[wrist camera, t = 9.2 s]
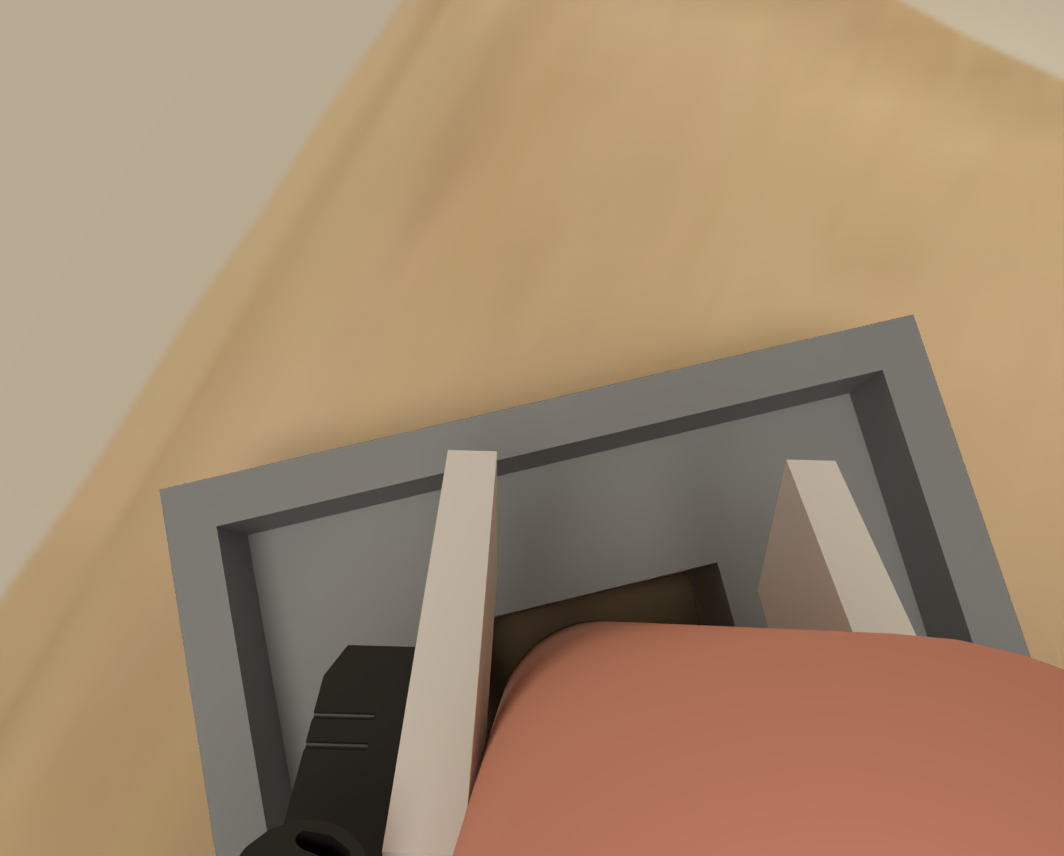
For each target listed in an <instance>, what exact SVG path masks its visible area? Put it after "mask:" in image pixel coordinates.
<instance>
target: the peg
mask: <svg viewBox="0 0 1064 856" xmlns="http://www.w3.org/2000/svg"><path fill="white" fill-rule="evenodd" d="M453 856H1064V670H1063V669H1060V668H1057V667H1055V666H1052V665H1049V664H1046V663H1044V662H1041V661H1038V660H1035V659H1033V658H1030V657H1027V656H1025V655H1022V654H1018V653H1013V652H1009V651H1005V650H1000V649H996V648H992V647H987V646H983V645H978V644H974V643H970V642H965V641H961V640H955V639H945V638H934V637H924V636H913V635H903V634H891V633H868V632H845V631H821V630H798V629H775V628H752V627H729V626H706V625H683V624H660V623H637V622H614V621H590V622H584V623H578V624H574V625H571V626H568V627H565V628H562V629H560V630H558V631H556V632H554V633H552V634H550V635H548V636H547V637H545V638H544V639H542V640H541V641H539V642H538V643H537V644H536V645H535V646H534V647H532V648H531V649H530V650H529V651H528V652H527V653H526V654H525V656H524V657H523V658H522V659H521V660H520V662H519V663H518V664H517V666H516V667H515V669H514V670H513V672H512V674H511V676H510V678H509V680H508V682H507V683H506V686H505V689H504V692H503V694H502V697H501V700H500V704H499V707H498V710H497V713H496V717H495V720H494V723H493V726H492V730H491V733H490V736H489V739H488V743H487V746H486V749H485V752H484V756H483V759H482V762H481V765H480V769H479V772H478V775H477V778H476V781H475V785H474V788H473V791H472V794H471V798H470V801H469V804H468V807H467V811H466V814H465V817H464V820H463V824H462V827H461V830H460V833H459V837H458V840H457V843H456V846H455V849H454V853H453Z"/></svg>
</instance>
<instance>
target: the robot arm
mask: <svg viewBox="0 0 1064 856" xmlns="http://www.w3.org/2000/svg"><path fill="white" fill-rule="evenodd" d="M496 585H497V451H468V450H448V453H447V459H446V465H445V471H444V477H443V483H442V489H441V495H440V501H439V507H438V513H437V520H436V526H435V532H434V538H433V544H432V550H431V556H430V562H429V568H428V574H427V580H426V587H425V593H424V599H423V605H422V611H421V617H420V623H419V629H418V635H417V641H416V647H404V646H368V645H347V647H346V648H345V649H344V650H343V652H342V653H341V654H340V655H339V657H338V658H337V659H336V661H335V662H334V663H333V664H332V666H331V667H330V668H329V669H328V671H327V672H326V673H325V674H324V676H323V679H322V683H321V687H320V691H319V694H318V698H317V702H316V705H315V709H314V717H313V719H312V720H311V724H310V728H309V732H308V735H307V739H306V747H305V749H304V750H303V754H302V758H301V761H300V765H299V769H298V772H297V776H296V780H295V784H294V787H293V791H292V795H291V798H290V802H289V806H288V810H287V813H286V817H285V821H284V824H283V825H281V826H278V827H275V828H272V829H269V830H268V831H267V832H265V833H264V834H263V835H261V836H260V837H259V838H257V839H256V840H255V841H253V842H252V843H251V844H249V845H248V846H247V847H245V849H244V850H243V851H242V853H241V854H240V856H453V853H454V849H455V846H456V843H457V840H458V837H459V833H460V830H461V827H462V824H463V820H464V817H465V814H466V811H467V807H468V804H469V801H470V798H471V794H472V791H473V788H474V785H475V781H476V778H477V775H478V772H479V769H480V765H481V762H482V759H483V756H484V752H485V744H486V730H487V715H488V701H489V686H490V672H491V657H492V643H493V628H494V614H495V599H496ZM758 593H759V596H760V600H761V604H762V607H763V611H764V614H765V618H766V621H767V625H768V628H775V629H798V630H821V631H845V632H868V633H891V634H903V635H913V636H916V634H915V632H914V629H913V627H912V625H911V623H910V621H909V619H908V616H907V614H906V612H905V610H904V608H903V606H902V604H901V601H900V599H899V597H898V595H897V593H896V591H895V588H894V586H893V584H892V582H891V580H890V578H889V575H888V573H887V571H886V569H885V567H884V565H883V563H882V560H881V558H880V556H879V554H878V552H877V550H876V547H875V545H874V543H873V541H872V539H871V537H870V534H869V532H868V530H867V528H866V526H865V524H864V522H863V519H862V517H861V515H860V513H859V511H858V509H857V506H856V504H855V502H854V500H853V498H852V496H851V493H850V491H849V489H848V487H847V485H846V483H845V481H844V478H843V476H842V474H841V472H840V470H839V468H838V465H837V463H836V461H824V460H789V459H786V463H785V468H784V472H783V477H782V481H781V486H780V490H779V495H778V499H777V504H776V508H775V513H774V518H773V522H772V527H771V531H770V536H769V540H768V545H767V549H766V554H765V559H764V563H763V568H762V572H761V577H760V581H759V586H758Z"/></svg>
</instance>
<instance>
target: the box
mask: <svg viewBox="0 0 1064 856" xmlns="http://www.w3.org/2000/svg"><path fill="white" fill-rule="evenodd" d="M448 450H468V451H497V585H496V599H495V614H494V618H497V617H501V616H505V615H509V614H513V613H517V612H522V611H526V610H530V609H534V608H538V607H542V606H546V605H550V604H554V603H559V602H563V601H567V600H571V599H575V598H579V597H583V596H587V595H591V594H596V593H600V592H604V591H608V590H612V589H616V588H620V587H624V586H628V585H632V584H637V583H641V582H645V581H649V580H653V579H657V578H661V577H665V576H669V575H674V574H678V573H682V572H686V571H687V573H688V577H689V581H690V584H691V588H692V592H693V595H694V599H695V603H696V606H697V610H698V614H699V618H700V621H701V625H706V626H729V627H752V628H768V625H767V621H766V618H765V614H764V611H763V607H762V604H761V600H760V596H759V593H758V586H759V581H760V577H761V572H762V568H763V563H764V559H765V554H766V549H767V545H768V540H769V536H770V531H771V527H772V522H773V518H774V513H775V508H776V504H777V499H778V495H779V490H780V486H781V481H782V477H783V472H784V468H785V463H786V459H789V460H824V461H836V463H837V465H838V468H839V470H840V472H841V474H842V476H843V478H844V481H845V483H846V485H847V487H848V489H849V491H850V493H851V496H852V498H853V500H854V502H855V504H856V506H857V509H858V511H859V513H860V515H861V517H862V519H863V522H864V524H865V526H866V528H867V530H868V532H869V534H870V537H871V539H872V541H873V543H874V545H875V547H876V550H877V552H878V554H879V556H880V558H881V560H882V563H883V565H884V567H885V569H886V571H887V573H888V575H889V578H890V580H891V582H892V584H893V586H894V588H895V591H896V593H897V595H898V597H899V599H900V601H901V604H902V606H903V608H904V610H905V612H906V614H907V616H908V619H909V621H910V623H911V625H912V627H913V629H914V632H915V634H916V636H924V637H934V638H945V639H955V640H961V641H965V642H970V643H974V644H978V645H983V646H987V647H992V648H996V649H1000V650H1005V651H1009V652H1013V653H1018V654H1022V655H1025V656H1027V657H1030V654H1029V651H1028V648H1027V645H1026V642H1025V640H1024V637H1023V634H1022V631H1021V628H1020V625H1019V622H1018V619H1017V616H1016V613H1015V610H1014V607H1013V605H1012V602H1011V599H1010V596H1009V593H1008V590H1007V587H1006V584H1005V581H1004V578H1003V575H1002V572H1001V570H1000V567H999V564H998V561H997V558H996V555H995V552H994V549H993V546H992V543H991V540H990V537H989V535H988V532H987V529H986V526H985V523H984V520H983V517H982V514H981V511H980V508H979V505H978V502H977V500H976V497H975V494H974V491H973V488H972V485H971V482H970V479H969V476H968V473H967V470H966V467H965V464H964V462H963V459H962V456H961V453H960V450H959V447H958V444H957V441H956V438H955V435H954V432H953V429H952V427H951V424H950V421H949V418H948V415H947V412H946V409H945V406H944V403H943V400H942V397H941V394H940V392H939V389H938V386H937V383H936V380H935V377H934V374H933V371H932V368H931V365H930V362H929V359H928V357H927V354H926V351H925V348H924V345H923V342H922V339H921V336H920V333H919V330H918V327H917V324H916V322H915V319H914V316H913V315H909V316H905V317H901V318H896V319H892V320H888V321H883V322H879V323H875V324H870V325H866V326H862V327H858V328H853V329H849V330H845V331H840V332H836V333H832V334H827V335H823V336H819V337H815V338H810V339H806V340H802V341H797V342H793V343H789V344H784V345H780V346H776V347H771V348H767V349H763V350H759V351H754V352H750V353H746V354H741V355H737V356H733V357H728V358H724V359H720V360H716V361H711V362H707V363H703V364H698V365H694V366H690V367H685V368H681V369H677V370H673V371H668V372H664V373H660V374H655V375H651V376H647V377H642V378H638V379H634V380H629V381H625V382H621V383H617V384H612V385H608V386H604V387H599V388H595V389H591V390H586V391H582V392H578V393H574V394H569V395H565V396H561V397H556V398H552V399H548V400H543V401H539V402H535V403H531V404H526V405H522V406H518V407H513V408H509V409H505V410H500V411H496V412H492V413H487V414H483V415H479V416H475V417H470V418H466V419H462V420H457V421H453V422H449V423H444V424H440V425H436V426H432V427H427V428H423V429H419V430H414V431H410V432H406V433H401V434H397V435H393V436H389V437H384V438H380V439H376V440H371V441H367V442H363V443H358V444H354V445H350V446H345V447H341V448H337V449H333V450H328V451H324V452H320V453H315V454H311V455H307V456H302V457H298V458H294V459H290V460H285V461H281V462H277V463H272V464H268V465H264V466H259V467H255V468H251V469H247V470H242V471H238V472H234V473H229V474H225V475H221V476H216V477H212V478H208V479H203V480H199V481H195V482H191V483H186V484H182V485H178V486H173V487H169V488H165V489H160V496H161V502H162V509H163V515H164V522H165V528H166V535H167V541H168V548H169V554H170V561H171V567H172V574H173V580H174V587H175V593H176V600H177V606H178V613H179V619H180V626H181V632H182V639H183V645H184V652H185V658H186V665H187V671H188V678H189V684H190V691H191V697H192V704H193V710H194V717H195V723H196V730H197V736H198V743H199V749H200V756H201V762H202V769H203V775H204V782H205V788H206V795H207V801H208V808H209V814H210V821H211V827H212V834H213V840H214V847H215V853H216V856H240V854H241V853H242V851H243V850H244V849H245V847H247V846H248V845H249V844H251V843H252V842H253V841H255V840H256V839H257V838H259V837H260V836H261V835H263V834H264V833H265V832H267V831H268V830H269V829H272V828H275V827H278V826H281V825H283V824H284V821H285V817H286V813H287V810H288V806H289V802H290V798H291V795H292V791H293V787H294V784H295V780H296V776H297V772H298V769H299V765H300V761H301V758H302V754H303V750H304V749H305V747H306V739H307V735H308V732H309V728H310V724H311V720H312V719H313V717H314V709H315V705H316V702H317V698H318V694H319V691H320V687H321V683H322V679H323V676H324V674H325V673H326V672H327V671H328V669H329V668H330V667H331V666H332V664H333V663H334V662H335V661H336V659H337V658H338V657H339V655H340V654H341V653H342V652H343V650H344V649H345V648H346V647H347V645H368V646H404V647H416V641H417V635H418V629H419V623H420V617H421V611H422V605H423V599H424V593H425V587H426V580H427V574H428V568H429V562H430V556H431V550H432V544H433V538H434V532H435V526H436V520H437V513H438V507H439V501H440V495H441V489H442V483H443V477H444V471H445V465H446V459H447V453H448ZM1030 658H1031V657H1030ZM489 736H490V735H489V730H488V725H487V730H486V744H485V749H486V746H487V743H488V739H489Z"/></svg>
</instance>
